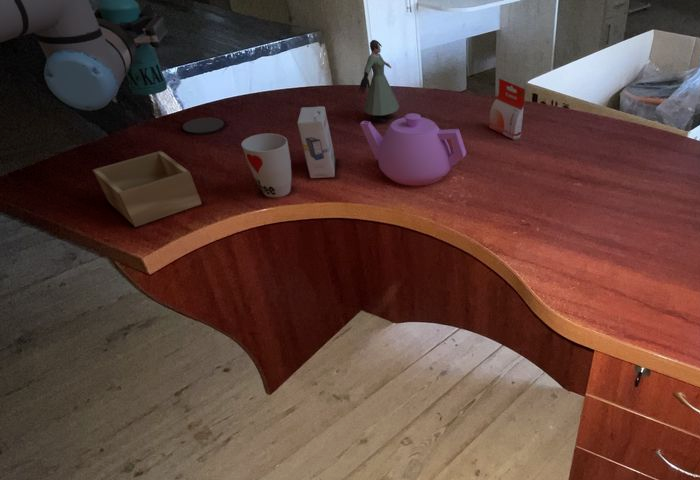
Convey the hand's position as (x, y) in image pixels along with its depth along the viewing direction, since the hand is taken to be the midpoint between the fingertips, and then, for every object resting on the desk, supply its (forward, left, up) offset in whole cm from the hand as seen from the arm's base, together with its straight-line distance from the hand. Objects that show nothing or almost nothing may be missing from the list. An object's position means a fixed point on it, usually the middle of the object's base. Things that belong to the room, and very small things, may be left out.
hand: (129, 13), depth 98 cm
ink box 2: (+38, +62, -27) cm, 78 cm away
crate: (+16, -13, -27) cm, 34 cm away
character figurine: (+12, +44, -27) cm, 53 cm away
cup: (+27, +6, -27) cm, 39 cm away
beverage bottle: (+4, -3, -13) cm, 14 cm away
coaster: (-12, +10, -27) cm, 31 cm away
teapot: (+39, +32, -27) cm, 58 cm away
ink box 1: (+25, +18, -27) cm, 41 cm away
